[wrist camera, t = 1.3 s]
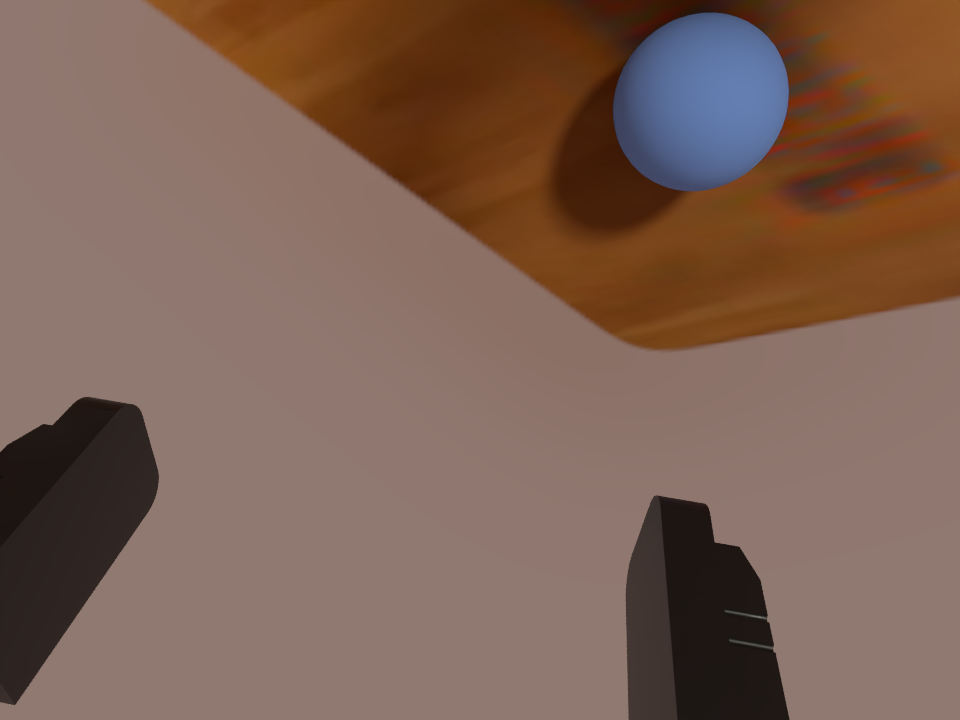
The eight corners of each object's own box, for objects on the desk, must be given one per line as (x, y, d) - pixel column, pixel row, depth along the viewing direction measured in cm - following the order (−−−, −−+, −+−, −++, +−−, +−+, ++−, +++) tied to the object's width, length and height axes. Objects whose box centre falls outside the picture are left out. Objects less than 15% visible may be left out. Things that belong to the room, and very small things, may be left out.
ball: (757, -30, 25) (791, 2, 20) (782, 129, 28) (816, 189, 23) (594, 33, 27) (590, 75, 22) (634, 174, 30) (638, 238, 25)
